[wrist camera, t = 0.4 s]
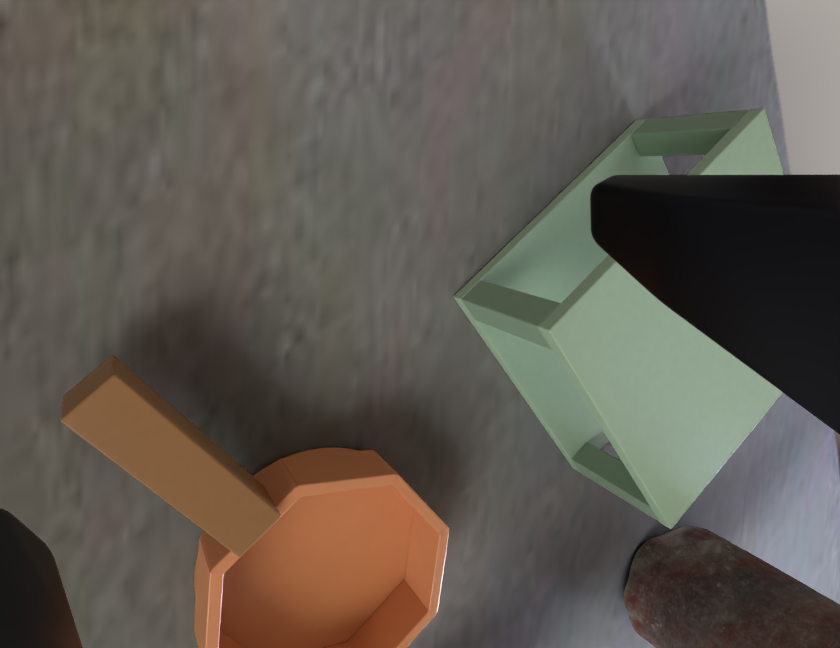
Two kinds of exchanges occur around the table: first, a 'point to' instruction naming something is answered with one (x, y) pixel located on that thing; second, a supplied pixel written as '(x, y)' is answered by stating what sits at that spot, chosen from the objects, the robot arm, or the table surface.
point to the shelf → (624, 330)
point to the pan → (276, 527)
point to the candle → (722, 597)
